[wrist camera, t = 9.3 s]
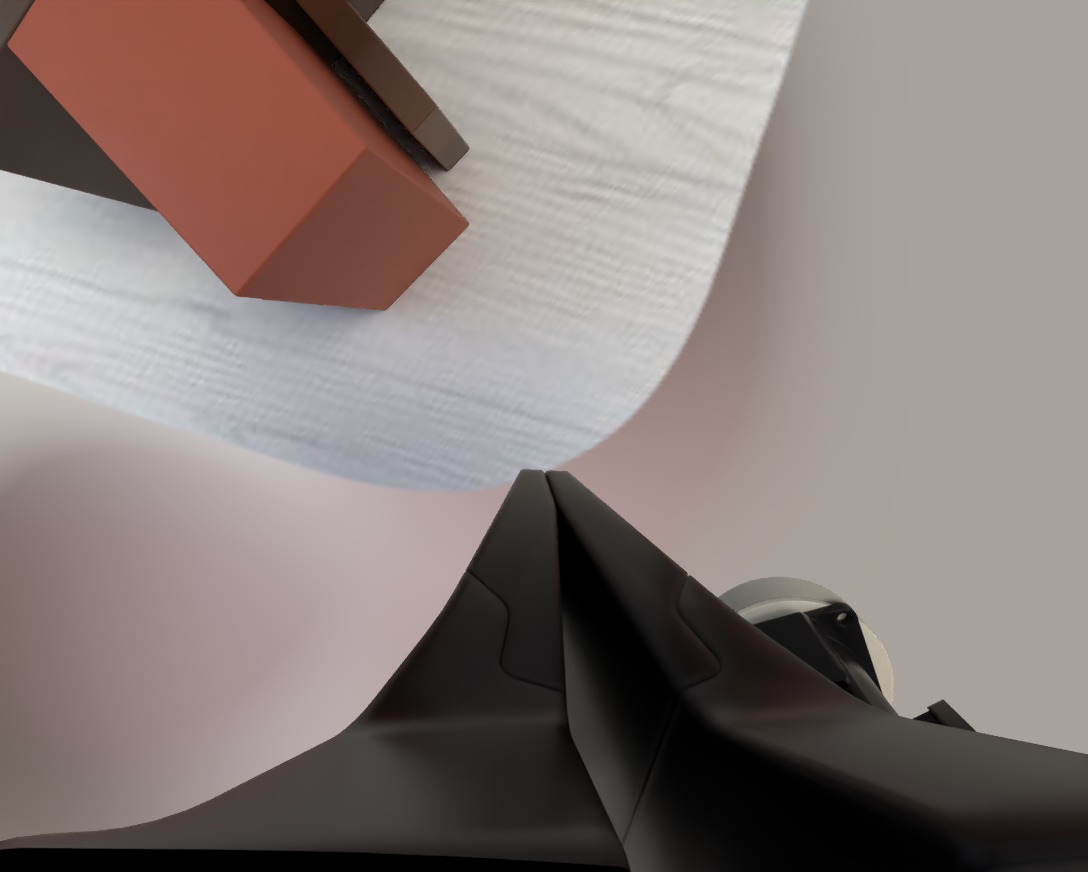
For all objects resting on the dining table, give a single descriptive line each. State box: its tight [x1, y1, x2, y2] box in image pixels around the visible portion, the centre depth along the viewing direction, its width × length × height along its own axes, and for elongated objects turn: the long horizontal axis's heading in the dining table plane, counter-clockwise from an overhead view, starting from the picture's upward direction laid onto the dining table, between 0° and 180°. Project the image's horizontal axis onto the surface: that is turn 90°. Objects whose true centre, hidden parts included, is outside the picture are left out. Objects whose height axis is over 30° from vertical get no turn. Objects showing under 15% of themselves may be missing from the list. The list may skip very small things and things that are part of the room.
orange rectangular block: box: [7, 0, 469, 310], centre depth 17 cm, size 8×5×9 cm, turn 42°
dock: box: [0, 0, 469, 305], centre depth 17 cm, size 10×12×9 cm
